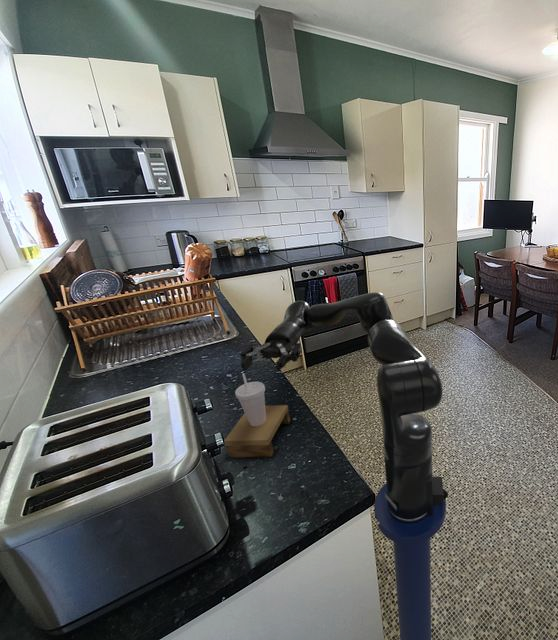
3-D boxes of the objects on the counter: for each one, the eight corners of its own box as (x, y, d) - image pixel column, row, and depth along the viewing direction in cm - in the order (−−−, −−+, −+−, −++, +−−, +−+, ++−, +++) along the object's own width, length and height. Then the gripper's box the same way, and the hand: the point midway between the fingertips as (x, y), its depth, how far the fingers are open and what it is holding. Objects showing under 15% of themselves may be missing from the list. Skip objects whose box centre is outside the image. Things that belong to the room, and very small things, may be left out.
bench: (290, 420, 93) (287, 405, 91) (271, 456, 81) (267, 440, 79) (253, 420, 93) (249, 405, 91) (229, 457, 81) (223, 440, 79)
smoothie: (239, 421, 85) (226, 373, 80) (265, 409, 90) (254, 363, 84) (249, 434, 81) (235, 384, 76) (276, 421, 85) (265, 372, 80)
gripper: (257, 326, 99) (228, 354, 84) (306, 325, 99) (287, 353, 84) (262, 350, 102) (235, 380, 87) (310, 349, 102) (292, 379, 87)
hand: (260, 366), depth 85 cm, fingers open, 8 cm apart
